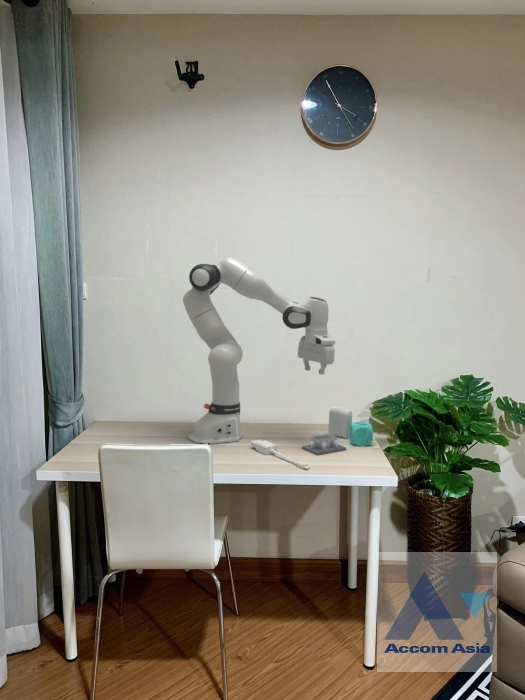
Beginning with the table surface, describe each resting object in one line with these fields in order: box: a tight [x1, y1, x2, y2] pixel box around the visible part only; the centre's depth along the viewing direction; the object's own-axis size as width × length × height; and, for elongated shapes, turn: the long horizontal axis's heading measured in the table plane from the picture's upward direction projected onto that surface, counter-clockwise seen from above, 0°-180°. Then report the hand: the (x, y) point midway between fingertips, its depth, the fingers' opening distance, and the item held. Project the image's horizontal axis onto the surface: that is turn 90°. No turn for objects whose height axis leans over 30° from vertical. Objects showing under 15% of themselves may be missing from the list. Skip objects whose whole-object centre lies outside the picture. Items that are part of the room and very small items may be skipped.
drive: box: [310, 433, 338, 450], centre depth 235 cm, size 9×5×4 cm, turn 123°
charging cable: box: [250, 439, 311, 470], centre depth 224 cm, size 5×32×3 cm, turn 35°
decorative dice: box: [349, 421, 374, 447], centre depth 244 cm, size 8×8×8 cm
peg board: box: [301, 437, 347, 456], centre depth 235 cm, size 14×10×4 cm
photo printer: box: [328, 406, 353, 440], centre depth 254 cm, size 10×4×12 cm, turn 47°
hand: (314, 372), depth 245 cm, fingers open, 8 cm apart
